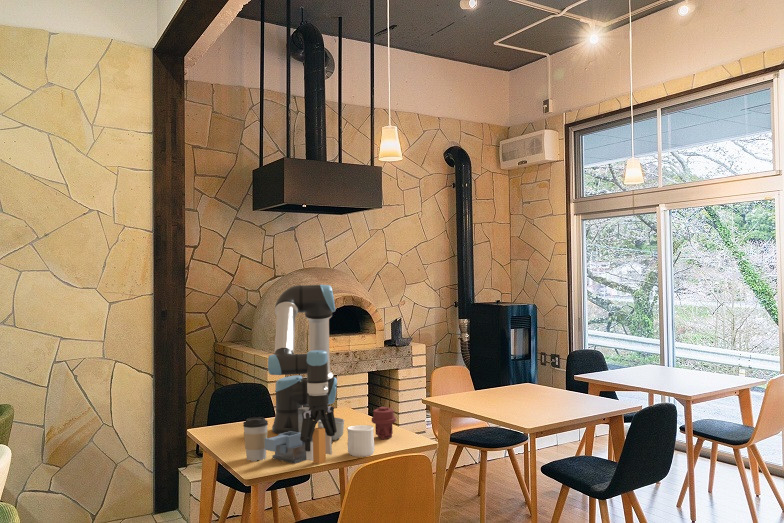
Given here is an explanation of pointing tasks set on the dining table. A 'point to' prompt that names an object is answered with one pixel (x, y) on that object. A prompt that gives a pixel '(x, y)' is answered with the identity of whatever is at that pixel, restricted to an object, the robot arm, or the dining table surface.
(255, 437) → the coffee cup
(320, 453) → the orange rectangular block
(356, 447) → the cup
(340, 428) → the teacup
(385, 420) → the mechanical component
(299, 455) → the grey fixture stand
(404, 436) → the dining table surface
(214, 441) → the dining table surface
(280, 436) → the bracket
